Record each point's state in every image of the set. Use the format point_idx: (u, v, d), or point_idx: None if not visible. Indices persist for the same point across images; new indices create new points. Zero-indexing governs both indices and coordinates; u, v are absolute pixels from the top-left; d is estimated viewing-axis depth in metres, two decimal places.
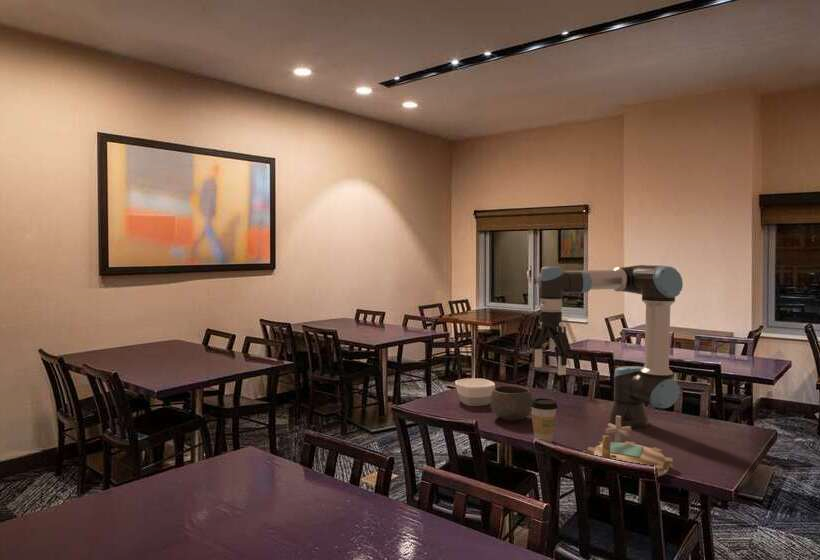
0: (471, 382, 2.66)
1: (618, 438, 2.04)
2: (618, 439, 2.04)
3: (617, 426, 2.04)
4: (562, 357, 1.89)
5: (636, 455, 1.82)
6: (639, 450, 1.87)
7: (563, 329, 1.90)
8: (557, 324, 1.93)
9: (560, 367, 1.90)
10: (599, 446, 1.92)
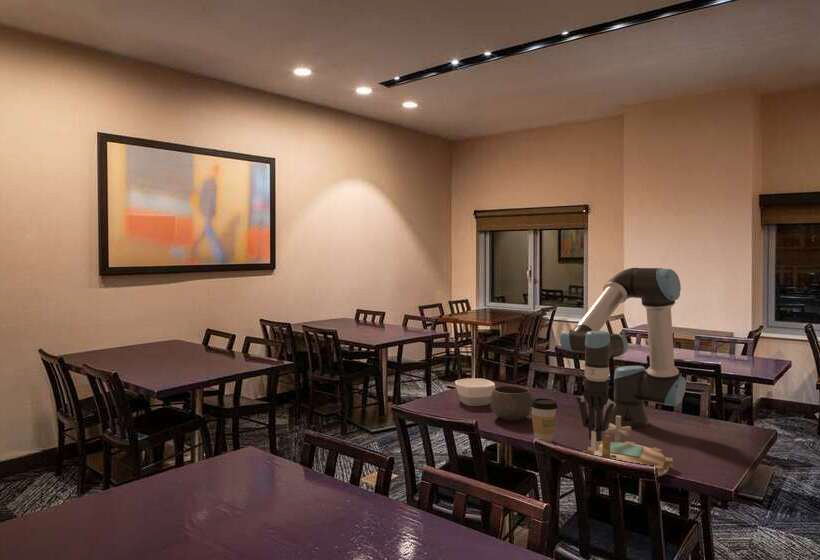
0: (471, 382, 2.66)
1: (618, 438, 2.04)
2: (618, 439, 2.04)
3: (617, 426, 2.04)
4: (598, 433, 1.82)
5: (636, 455, 1.82)
6: (639, 450, 1.87)
7: (614, 407, 1.79)
8: None
9: (596, 443, 1.82)
10: (599, 446, 1.92)
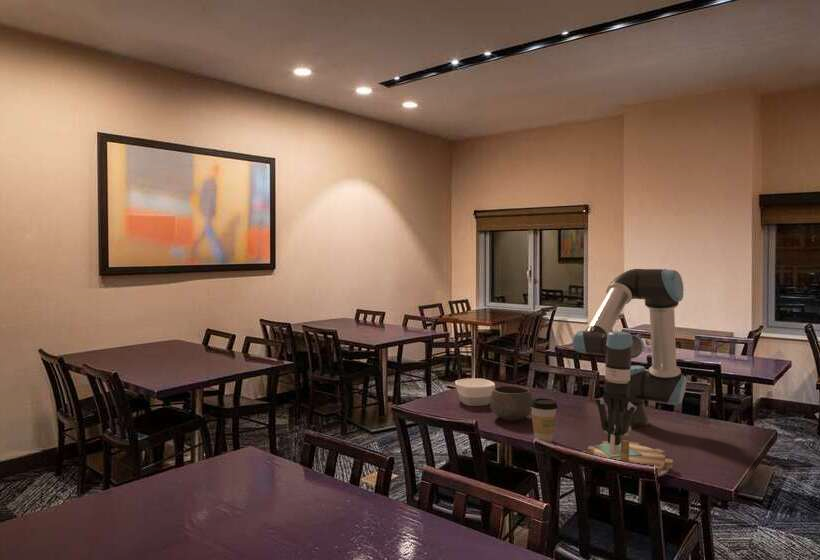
0: (471, 382, 2.66)
1: None
2: None
3: None
4: (617, 436, 1.77)
5: (637, 453, 1.84)
6: (630, 448, 1.89)
7: (634, 410, 1.74)
8: (630, 399, 1.74)
9: (614, 447, 1.77)
10: (597, 452, 1.85)
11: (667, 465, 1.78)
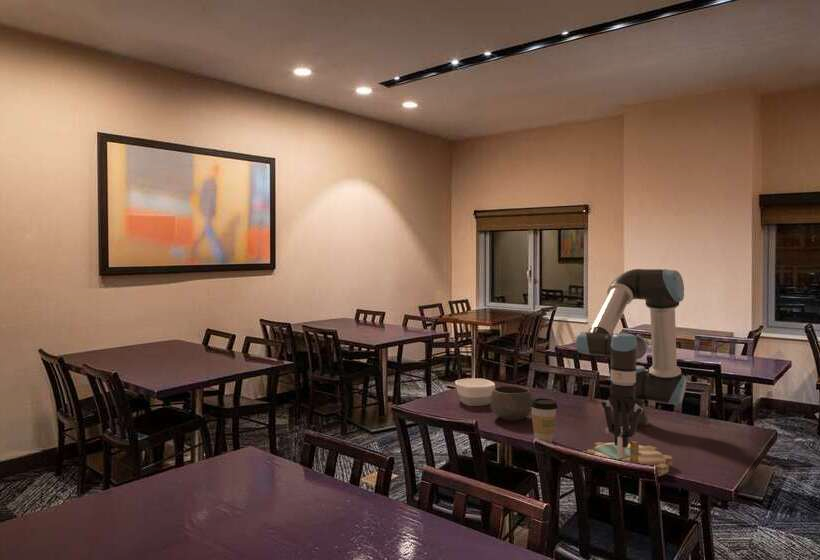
0: (471, 382, 2.66)
1: None
2: None
3: None
4: (624, 438, 1.76)
5: None
6: (626, 447, 1.89)
7: (641, 412, 1.73)
8: (636, 401, 1.74)
9: (622, 449, 1.76)
10: None
11: (667, 461, 1.81)
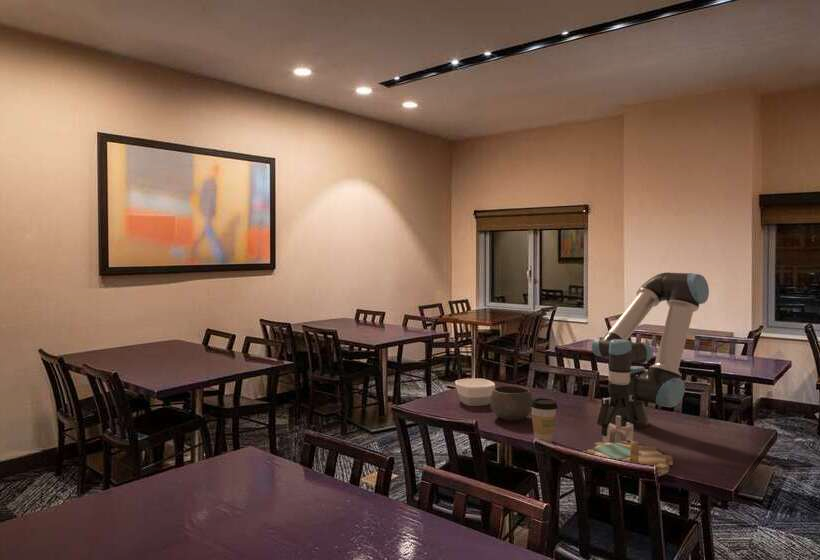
0: (471, 382, 2.66)
1: (618, 438, 2.04)
2: (618, 439, 2.04)
3: (617, 426, 2.04)
4: None
5: None
6: (626, 447, 1.89)
7: (604, 401, 2.01)
8: (610, 395, 2.02)
9: (603, 436, 2.03)
10: None
11: (667, 461, 1.81)
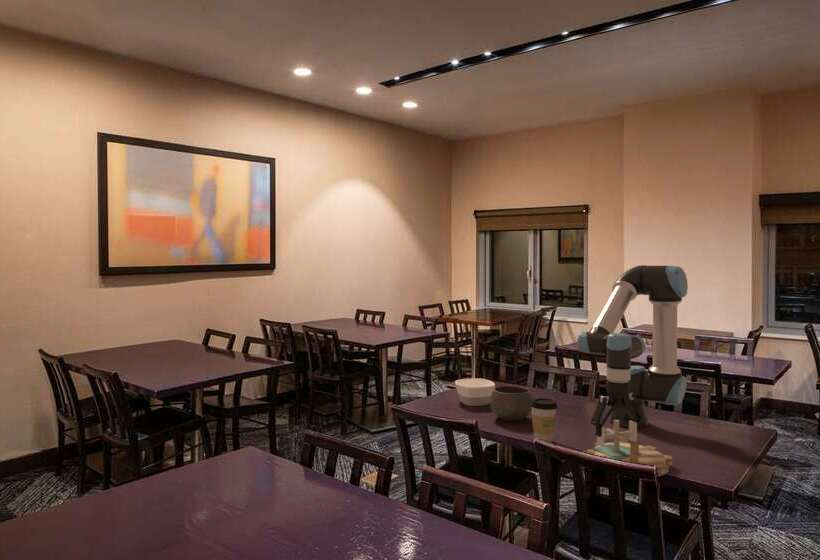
0: (471, 382, 2.66)
1: (617, 444, 1.86)
2: (617, 446, 1.86)
3: (615, 431, 1.86)
4: None
5: None
6: (626, 447, 1.89)
7: (601, 399, 1.83)
8: (609, 394, 1.85)
9: (597, 437, 1.85)
10: None
11: (667, 461, 1.81)
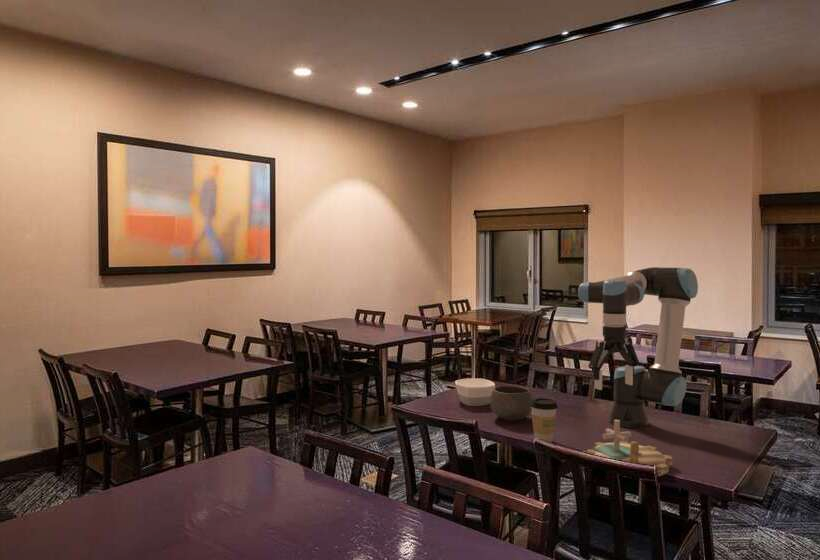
0: (471, 382, 2.66)
1: (617, 444, 1.86)
2: (617, 445, 1.86)
3: (616, 431, 1.86)
4: None
5: None
6: (626, 447, 1.89)
7: (599, 343, 1.88)
8: (605, 339, 1.90)
9: (595, 380, 1.90)
10: None
11: (667, 461, 1.81)
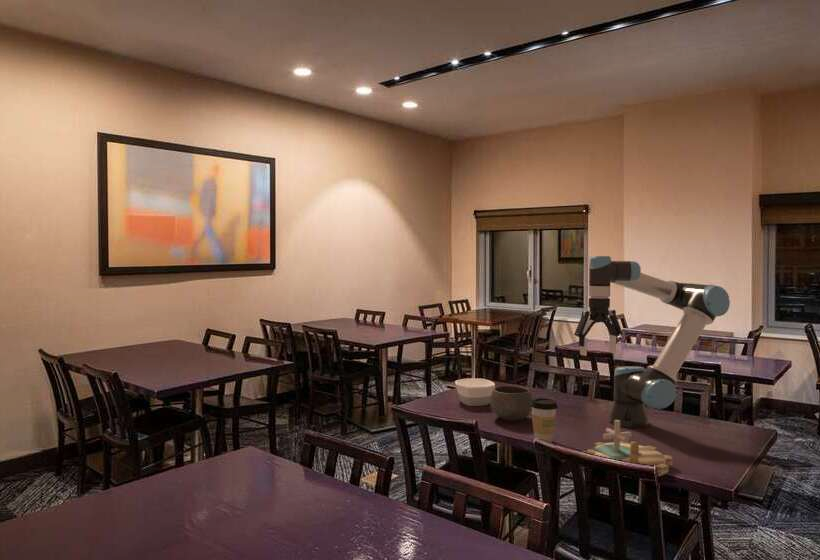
0: (471, 382, 2.66)
1: (617, 445, 1.86)
2: (617, 446, 1.86)
3: (616, 431, 1.86)
4: None
5: None
6: (626, 447, 1.89)
7: (584, 313, 2.06)
8: (591, 309, 2.07)
9: (580, 347, 2.07)
10: None
11: (667, 461, 1.81)
